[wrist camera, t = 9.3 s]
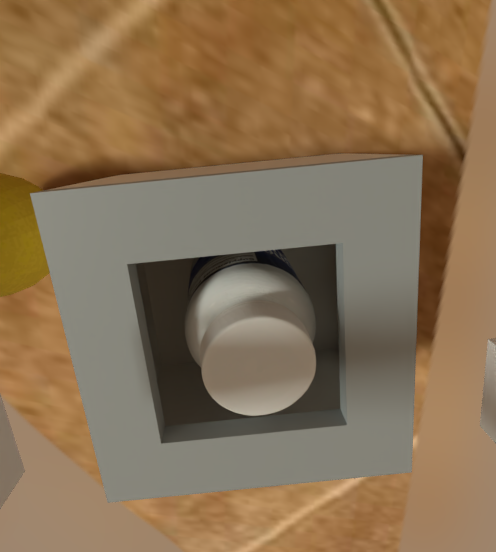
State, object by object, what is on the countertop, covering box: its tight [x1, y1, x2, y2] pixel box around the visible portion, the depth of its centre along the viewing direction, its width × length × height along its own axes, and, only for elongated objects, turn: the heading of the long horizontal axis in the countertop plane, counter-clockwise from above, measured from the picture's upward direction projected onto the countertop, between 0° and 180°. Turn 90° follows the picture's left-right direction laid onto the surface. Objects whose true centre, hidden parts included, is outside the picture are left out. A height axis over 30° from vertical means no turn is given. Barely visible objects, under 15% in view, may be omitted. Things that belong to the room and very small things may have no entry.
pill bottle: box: [185, 249, 316, 416], centre depth 18 cm, size 5×5×10 cm
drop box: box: [30, 153, 423, 502], centre depth 19 cm, size 12×12×10 cm
